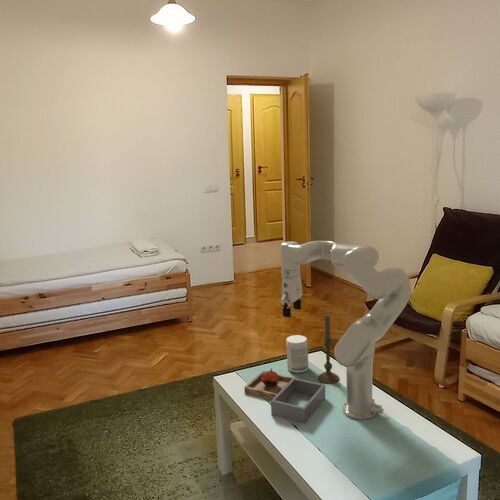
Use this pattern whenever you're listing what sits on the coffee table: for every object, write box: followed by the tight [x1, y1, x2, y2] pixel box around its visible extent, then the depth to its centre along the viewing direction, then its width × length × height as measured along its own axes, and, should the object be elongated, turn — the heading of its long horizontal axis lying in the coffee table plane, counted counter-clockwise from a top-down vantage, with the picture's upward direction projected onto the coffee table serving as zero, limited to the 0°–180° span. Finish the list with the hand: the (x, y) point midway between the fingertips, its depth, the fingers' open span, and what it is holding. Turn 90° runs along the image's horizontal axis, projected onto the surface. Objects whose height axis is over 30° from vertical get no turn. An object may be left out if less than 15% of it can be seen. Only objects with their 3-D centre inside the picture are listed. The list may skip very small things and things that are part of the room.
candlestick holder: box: [317, 313, 340, 385], centre depth 206 cm, size 9×9×30 cm
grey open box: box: [270, 377, 326, 425], centre depth 188 cm, size 14×20×6 cm
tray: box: [243, 370, 294, 401], centre depth 204 cm, size 16×16×3 cm
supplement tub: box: [285, 334, 309, 374], centre depth 219 cm, size 10×10×15 cm
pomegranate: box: [261, 368, 279, 390], centre depth 203 cm, size 7×7×10 cm
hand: (292, 312), depth 197 cm, fingers open, 9 cm apart
